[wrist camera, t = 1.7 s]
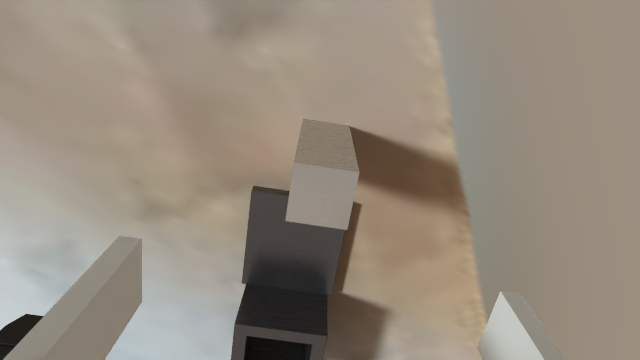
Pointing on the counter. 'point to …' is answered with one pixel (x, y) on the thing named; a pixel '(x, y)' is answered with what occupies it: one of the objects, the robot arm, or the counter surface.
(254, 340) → the square socket bracket
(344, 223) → the beige rectangular block
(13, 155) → the counter surface
